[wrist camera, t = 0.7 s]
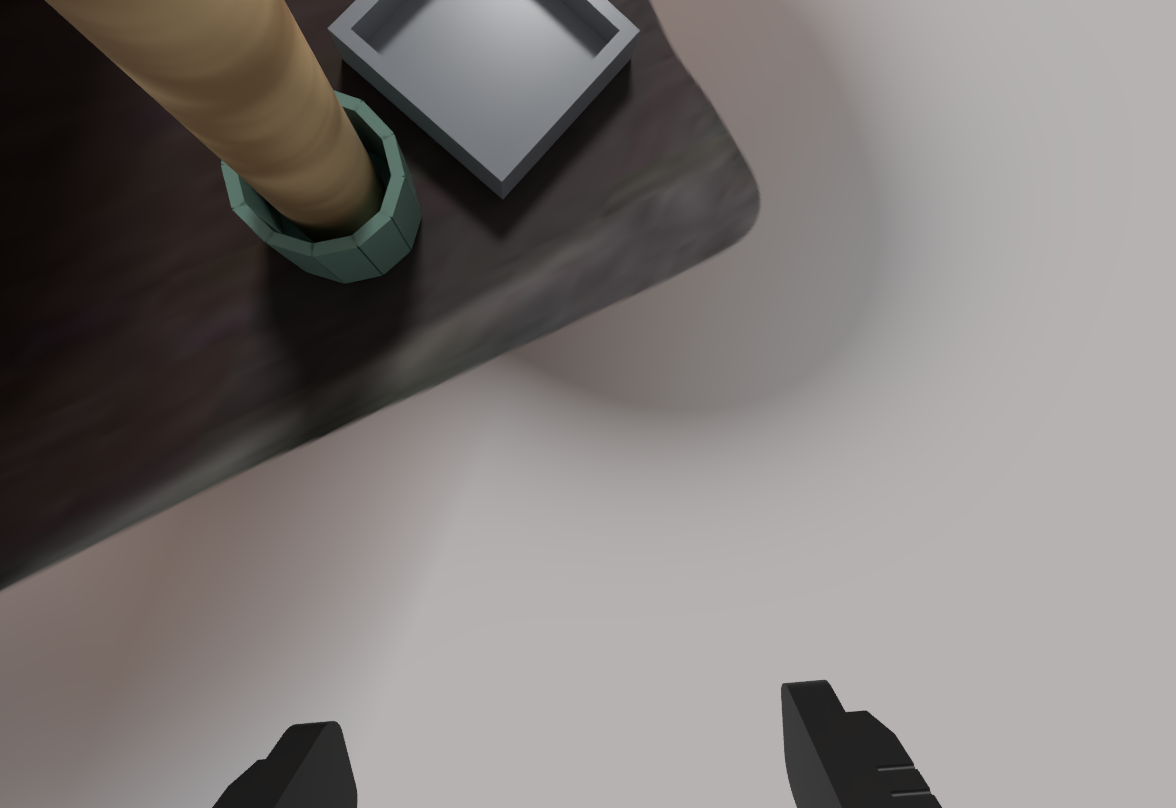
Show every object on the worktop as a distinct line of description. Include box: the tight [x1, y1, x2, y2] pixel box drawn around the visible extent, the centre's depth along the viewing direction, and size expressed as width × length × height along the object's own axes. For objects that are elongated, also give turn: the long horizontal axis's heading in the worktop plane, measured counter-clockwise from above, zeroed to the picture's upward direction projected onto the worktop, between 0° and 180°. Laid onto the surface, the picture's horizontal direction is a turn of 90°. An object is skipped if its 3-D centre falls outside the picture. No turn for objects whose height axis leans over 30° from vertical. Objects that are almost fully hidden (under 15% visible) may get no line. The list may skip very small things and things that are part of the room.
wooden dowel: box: [45, 0, 387, 243], centre depth 21 cm, size 5×5×18 cm
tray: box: [328, 0, 640, 200], centre depth 31 cm, size 12×12×2 cm
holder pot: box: [221, 90, 422, 284], centre depth 28 cm, size 8×8×5 cm
